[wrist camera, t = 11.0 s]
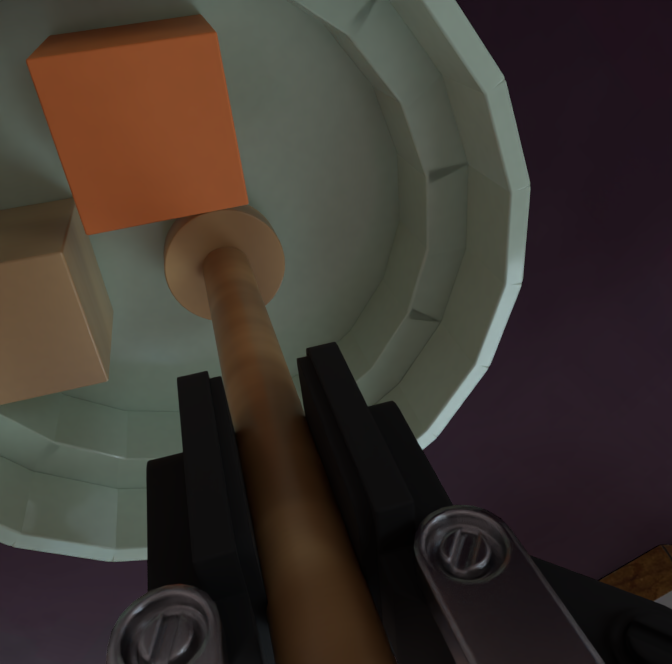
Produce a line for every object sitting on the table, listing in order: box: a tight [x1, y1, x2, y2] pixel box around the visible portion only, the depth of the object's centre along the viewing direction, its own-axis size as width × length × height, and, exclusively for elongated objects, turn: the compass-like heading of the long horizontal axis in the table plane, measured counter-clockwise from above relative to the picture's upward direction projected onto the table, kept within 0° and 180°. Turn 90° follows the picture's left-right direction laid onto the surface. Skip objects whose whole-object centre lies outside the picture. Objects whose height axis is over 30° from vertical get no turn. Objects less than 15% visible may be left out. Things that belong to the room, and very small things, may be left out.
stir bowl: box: [0, 0, 531, 562], centre depth 18 cm, size 18×18×6 cm
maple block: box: [0, 198, 114, 405], centre depth 18 cm, size 4×4×4 cm
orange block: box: [26, 14, 249, 235], centre depth 16 cm, size 4×4×4 cm
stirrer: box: [163, 204, 397, 664], centre depth 13 cm, size 4×4×15 cm
